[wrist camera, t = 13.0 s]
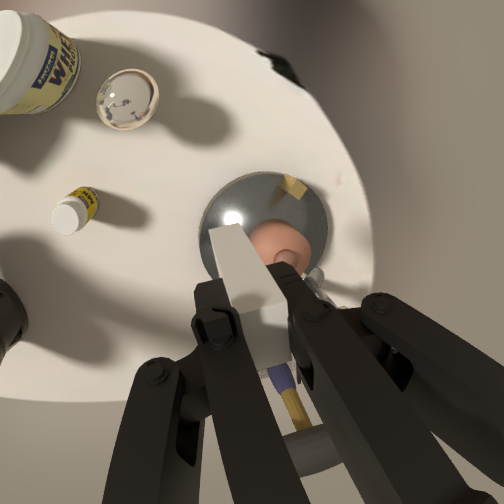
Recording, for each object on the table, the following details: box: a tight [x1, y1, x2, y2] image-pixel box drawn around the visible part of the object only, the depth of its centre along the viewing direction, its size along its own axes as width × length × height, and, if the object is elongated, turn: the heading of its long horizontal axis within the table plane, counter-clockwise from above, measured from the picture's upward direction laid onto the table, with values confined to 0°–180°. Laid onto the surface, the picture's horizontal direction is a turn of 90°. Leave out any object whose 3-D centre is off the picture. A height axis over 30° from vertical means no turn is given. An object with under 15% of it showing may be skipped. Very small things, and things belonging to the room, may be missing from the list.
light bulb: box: [96, 69, 160, 130], centre depth 25 cm, size 7×7×12 cm
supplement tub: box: [0, 10, 81, 114], centre depth 17 cm, size 12×12×17 cm
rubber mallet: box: [267, 362, 343, 478], centre depth 40 cm, size 12×8×30 cm, turn 89°
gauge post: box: [303, 267, 348, 309], centre depth 43 cm, size 6×6×16 cm
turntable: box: [198, 172, 328, 280], centre depth 40 cm, size 20×20×6 cm
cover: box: [248, 219, 311, 276], centre depth 39 cm, size 8×8×6 cm
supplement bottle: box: [52, 187, 99, 236], centre depth 30 cm, size 5×5×8 cm
